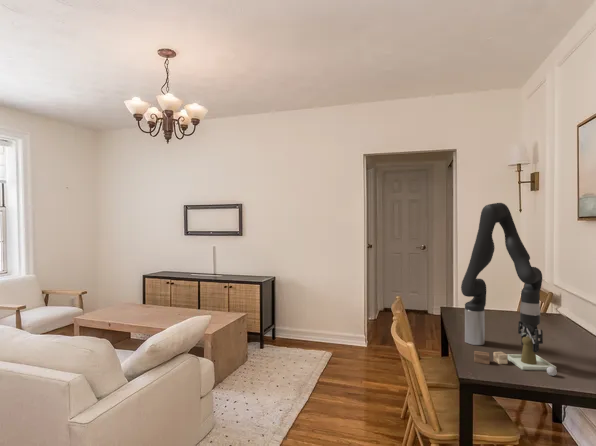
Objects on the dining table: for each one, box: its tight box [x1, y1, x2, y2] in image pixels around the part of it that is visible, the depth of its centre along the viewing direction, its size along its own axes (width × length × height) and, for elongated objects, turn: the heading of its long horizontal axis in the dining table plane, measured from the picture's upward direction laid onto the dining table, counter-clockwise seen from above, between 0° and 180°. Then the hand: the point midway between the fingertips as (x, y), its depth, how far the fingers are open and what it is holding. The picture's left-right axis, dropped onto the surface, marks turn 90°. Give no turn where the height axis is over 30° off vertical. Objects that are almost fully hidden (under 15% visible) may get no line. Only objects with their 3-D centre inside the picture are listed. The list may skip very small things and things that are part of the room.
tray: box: [507, 353, 557, 371], centre depth 164 cm, size 14×14×2 cm
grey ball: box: [546, 367, 558, 377], centre depth 152 cm, size 4×4×4 cm
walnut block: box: [473, 350, 490, 365], centre depth 167 cm, size 4×6×4 cm, turn 67°
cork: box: [521, 336, 537, 365], centre depth 165 cm, size 6×6×11 cm
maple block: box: [493, 351, 509, 365], centre depth 167 cm, size 4×4×4 cm
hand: (529, 348), depth 164 cm, fingers open, 8 cm apart
